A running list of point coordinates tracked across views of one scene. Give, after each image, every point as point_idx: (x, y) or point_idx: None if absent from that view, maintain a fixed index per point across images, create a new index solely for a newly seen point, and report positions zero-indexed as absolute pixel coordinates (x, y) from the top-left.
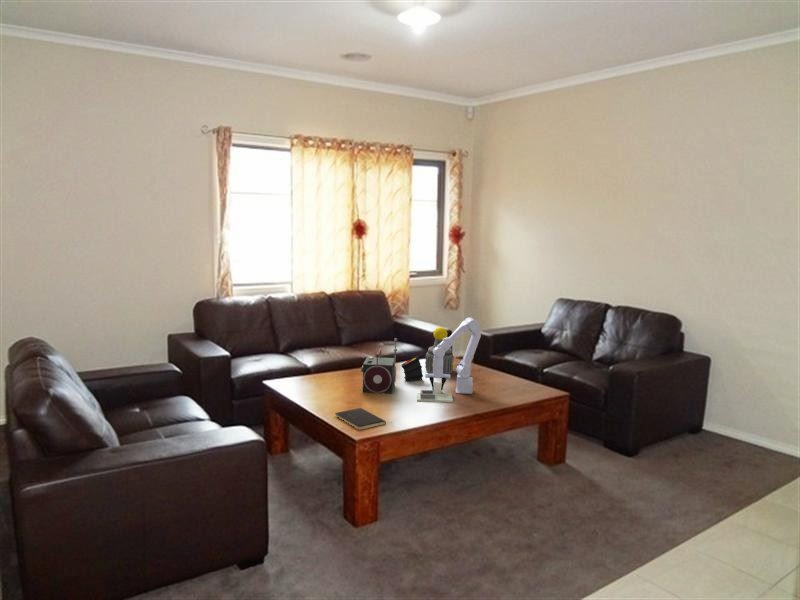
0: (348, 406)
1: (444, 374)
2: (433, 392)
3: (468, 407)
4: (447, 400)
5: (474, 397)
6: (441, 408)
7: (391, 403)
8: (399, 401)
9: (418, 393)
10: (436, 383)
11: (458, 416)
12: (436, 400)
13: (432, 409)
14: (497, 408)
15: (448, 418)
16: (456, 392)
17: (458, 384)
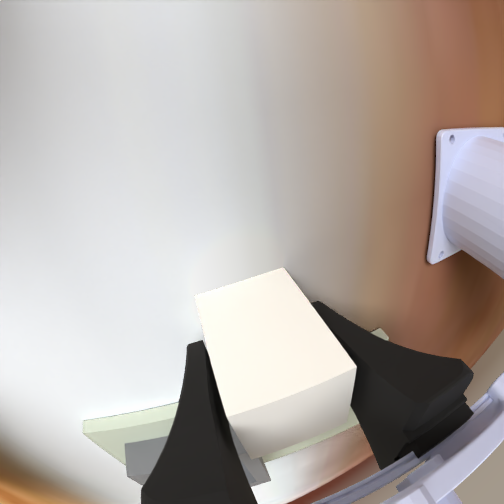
0: (5, 499)
1: (486, 448)
2: (254, 471)
3: None
4: (337, 433)
5: (481, 284)
6: (299, 470)
7: (75, 496)
8: (83, 486)
9: (102, 439)
10: (282, 445)
11: (351, 467)
12: (273, 457)
13: (263, 487)
14: (482, 354)
15: (319, 485)
16: (431, 262)
17: (501, 273)
